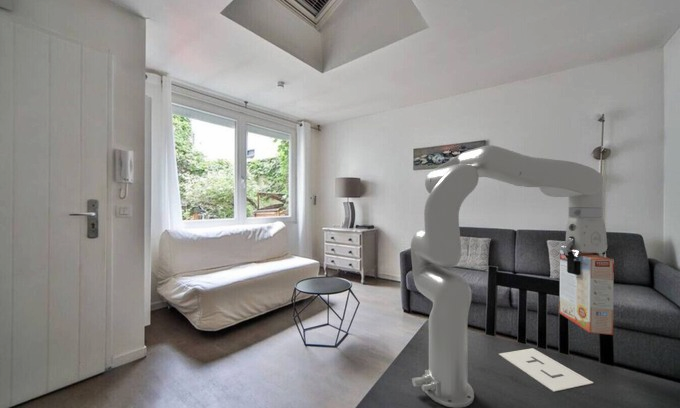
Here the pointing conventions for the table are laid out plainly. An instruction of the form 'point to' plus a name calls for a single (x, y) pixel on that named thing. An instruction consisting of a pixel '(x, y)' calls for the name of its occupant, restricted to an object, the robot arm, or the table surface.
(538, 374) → the tile
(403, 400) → the table surface
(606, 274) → the cracker box
